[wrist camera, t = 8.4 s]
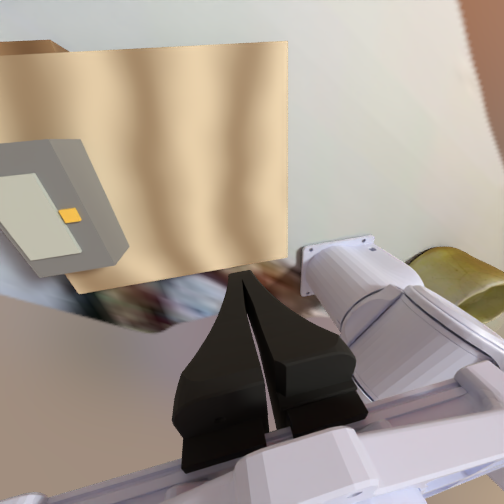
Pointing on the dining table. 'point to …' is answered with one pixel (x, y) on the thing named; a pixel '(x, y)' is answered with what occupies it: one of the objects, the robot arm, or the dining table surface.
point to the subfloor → (166, 147)
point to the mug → (463, 281)
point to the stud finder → (57, 208)
